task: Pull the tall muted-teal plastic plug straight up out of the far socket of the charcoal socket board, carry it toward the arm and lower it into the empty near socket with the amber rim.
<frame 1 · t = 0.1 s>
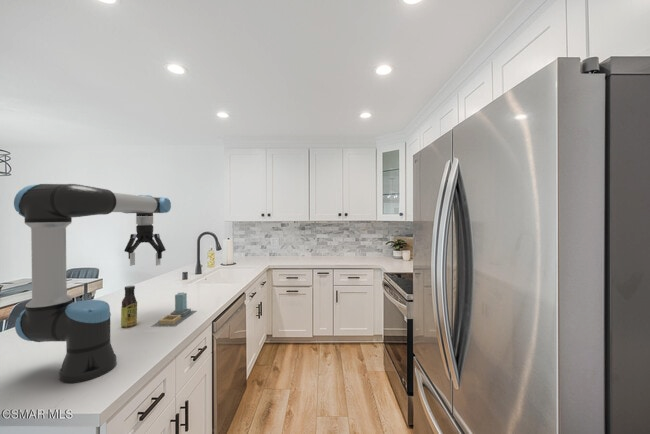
hand: (145, 265, 146), 28 cm above the worktop, fingers open, 13 cm apart
sauce bottle: (129, 328, 134), on the worktop
plug: (181, 314, 148), point 1 cm above the worktop, touching socket board
socket board: (175, 319, 143), on the worktop
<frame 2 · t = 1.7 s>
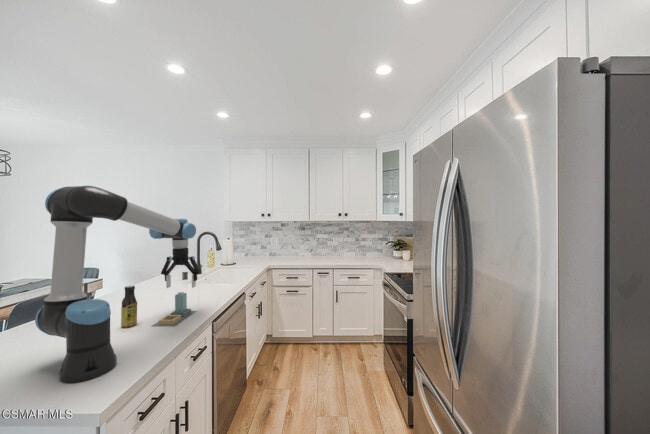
hand: (181, 287, 149), 16 cm above the worktop, fingers open, 13 cm apart
nothing on the worktop moved.
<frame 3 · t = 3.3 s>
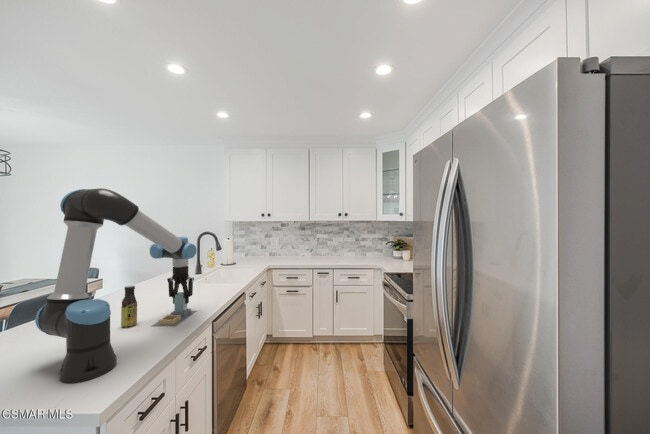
hand: (181, 309, 148), 4 cm above the worktop, fingers closed on plug, 4 cm apart
plug: (181, 314, 148), point 1 cm above the worktop, touching gripper, socket board
everything else where it was.
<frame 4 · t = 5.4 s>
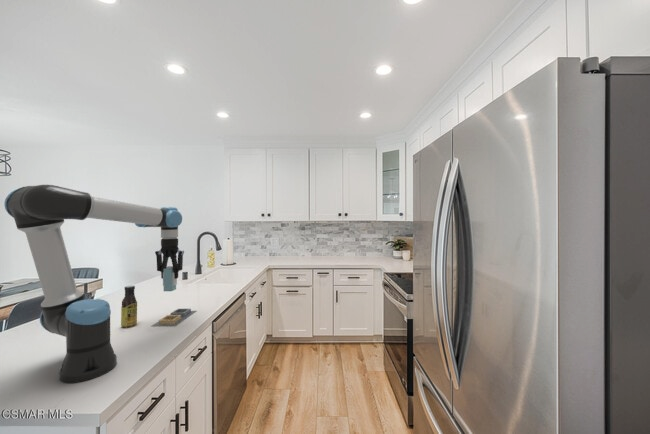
hand: (169, 285, 139), 19 cm above the worktop, fingers closed on plug, 4 cm apart
plug: (169, 290, 139), point 17 cm above the worktop, touching gripper
everything else where it was.
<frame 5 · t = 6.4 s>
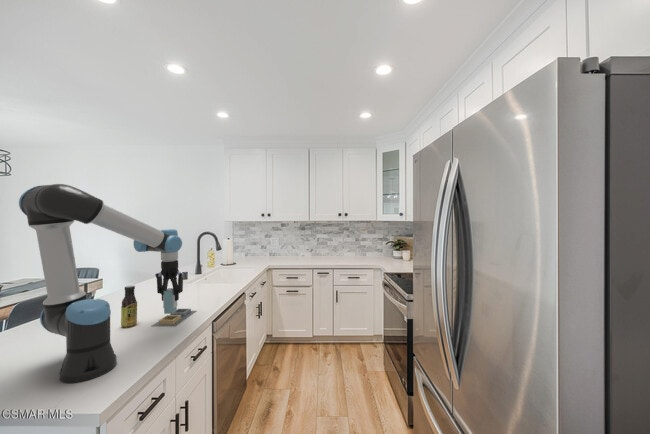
hand: (170, 307, 139), 8 cm above the worktop, fingers closed on plug, 4 cm apart
plug: (170, 312, 139), point 6 cm above the worktop, touching gripper
everything else where it was.
when the fingers open (5 cm above the worktop, at t = 7.4 s): plug drops 1 cm, resting on socket board.
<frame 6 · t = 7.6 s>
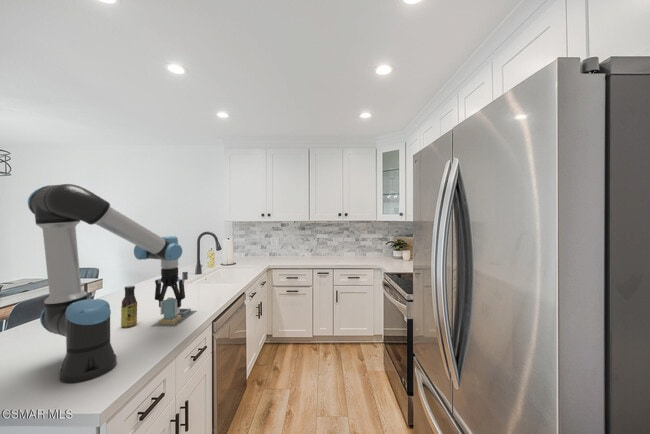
hand: (170, 313, 138), 5 cm above the worktop, fingers open, 7 cm apart
plug: (170, 321, 138), point 1 cm above the worktop, touching socket board
everything else where it was.
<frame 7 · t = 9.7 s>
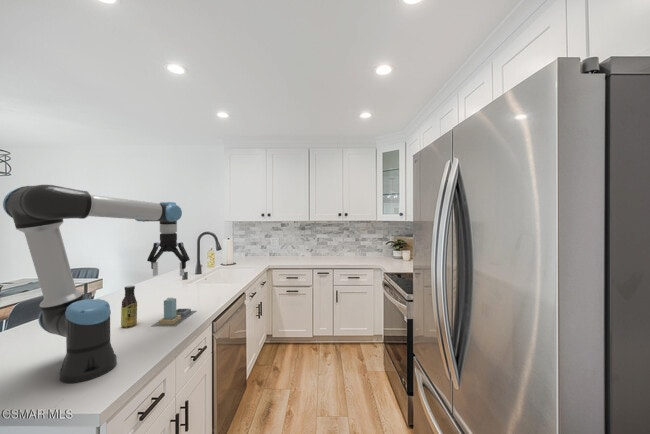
hand: (168, 275, 139), 24 cm above the worktop, fingers open, 13 cm apart
nothing on the worktop moved.
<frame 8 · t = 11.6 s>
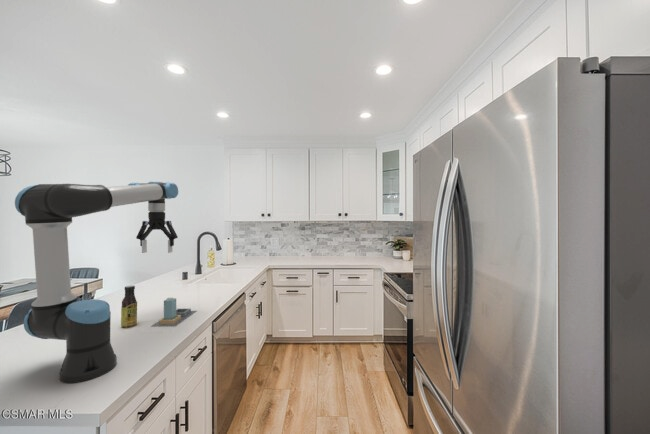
hand: (157, 252, 145), 35 cm above the worktop, fingers open, 13 cm apart
nothing on the worktop moved.
at the end: plug 0.0 cm from the target spot on the socket board, point 1.0 cm above the socket board's base; plug tilted 0°; the gripper is holding nothing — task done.
